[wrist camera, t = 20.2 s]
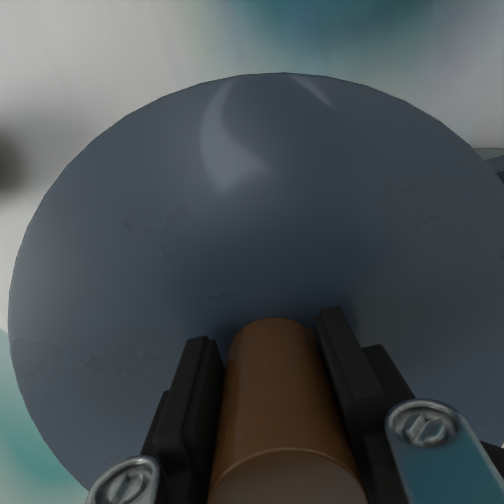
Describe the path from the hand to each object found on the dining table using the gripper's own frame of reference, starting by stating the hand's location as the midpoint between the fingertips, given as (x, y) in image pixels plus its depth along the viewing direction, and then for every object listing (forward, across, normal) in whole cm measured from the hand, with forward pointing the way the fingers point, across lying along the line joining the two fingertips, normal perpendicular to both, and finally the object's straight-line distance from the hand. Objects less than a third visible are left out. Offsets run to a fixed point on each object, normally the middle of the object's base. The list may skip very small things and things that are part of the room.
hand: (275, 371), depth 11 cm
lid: (+1, 0, 0) cm, 1 cm away
